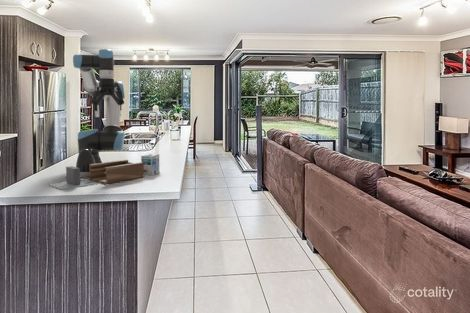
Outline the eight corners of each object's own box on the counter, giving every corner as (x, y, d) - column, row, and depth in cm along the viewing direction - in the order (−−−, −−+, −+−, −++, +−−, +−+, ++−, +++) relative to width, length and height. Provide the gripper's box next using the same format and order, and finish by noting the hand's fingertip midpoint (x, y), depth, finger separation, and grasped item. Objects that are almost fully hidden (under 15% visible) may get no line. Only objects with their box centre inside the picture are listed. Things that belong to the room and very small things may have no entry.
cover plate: (49, 186, 188) (47, 168, 186) (84, 181, 201) (84, 163, 200) (61, 190, 179) (60, 171, 178) (97, 185, 192) (97, 167, 191)
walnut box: (89, 180, 201) (89, 164, 200) (125, 174, 218) (125, 159, 216) (107, 184, 191) (106, 167, 190) (143, 178, 208) (143, 162, 207)
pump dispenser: (100, 175, 213) (99, 148, 211) (87, 179, 204) (86, 150, 201) (85, 174, 217) (84, 147, 214) (71, 177, 207) (70, 149, 205)
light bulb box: (152, 175, 215) (152, 156, 214) (141, 175, 217) (140, 155, 215) (160, 172, 226) (159, 153, 224) (149, 171, 227) (148, 153, 226)
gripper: (89, 76, 204) (91, 117, 207) (129, 79, 223) (130, 116, 226) (82, 77, 209) (84, 117, 212) (122, 79, 228) (123, 116, 231)
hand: (108, 116), depth 219 cm, fingers open, 13 cm apart
